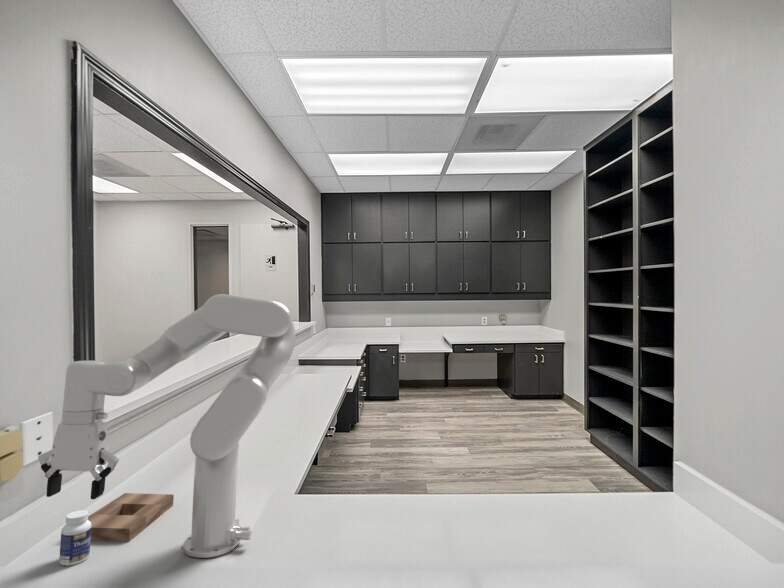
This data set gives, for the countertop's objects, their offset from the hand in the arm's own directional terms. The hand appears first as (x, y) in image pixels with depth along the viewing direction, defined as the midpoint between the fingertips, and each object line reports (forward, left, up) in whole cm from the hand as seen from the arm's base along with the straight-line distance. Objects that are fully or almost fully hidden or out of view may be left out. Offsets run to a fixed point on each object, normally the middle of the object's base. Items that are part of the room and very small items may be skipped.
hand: (75, 495), depth 95 cm
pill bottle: (-1, 0, -14) cm, 14 cm away
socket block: (-1, -18, -14) cm, 23 cm away
